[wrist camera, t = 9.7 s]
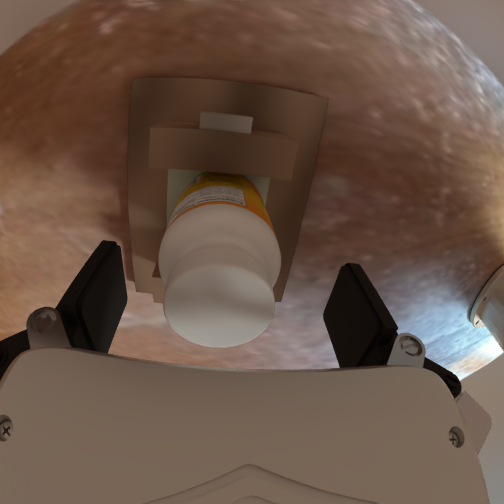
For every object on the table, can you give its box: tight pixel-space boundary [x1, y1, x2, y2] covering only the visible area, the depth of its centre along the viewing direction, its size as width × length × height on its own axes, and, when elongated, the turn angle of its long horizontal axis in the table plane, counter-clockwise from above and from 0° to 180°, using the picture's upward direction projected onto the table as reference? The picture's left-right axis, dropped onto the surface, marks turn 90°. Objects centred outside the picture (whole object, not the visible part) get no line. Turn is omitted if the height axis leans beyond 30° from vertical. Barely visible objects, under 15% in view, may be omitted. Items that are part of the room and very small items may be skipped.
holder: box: [127, 77, 328, 303], centre depth 16 cm, size 12×16×5 cm
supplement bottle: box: [158, 171, 281, 348], centre depth 13 cm, size 5×5×10 cm
